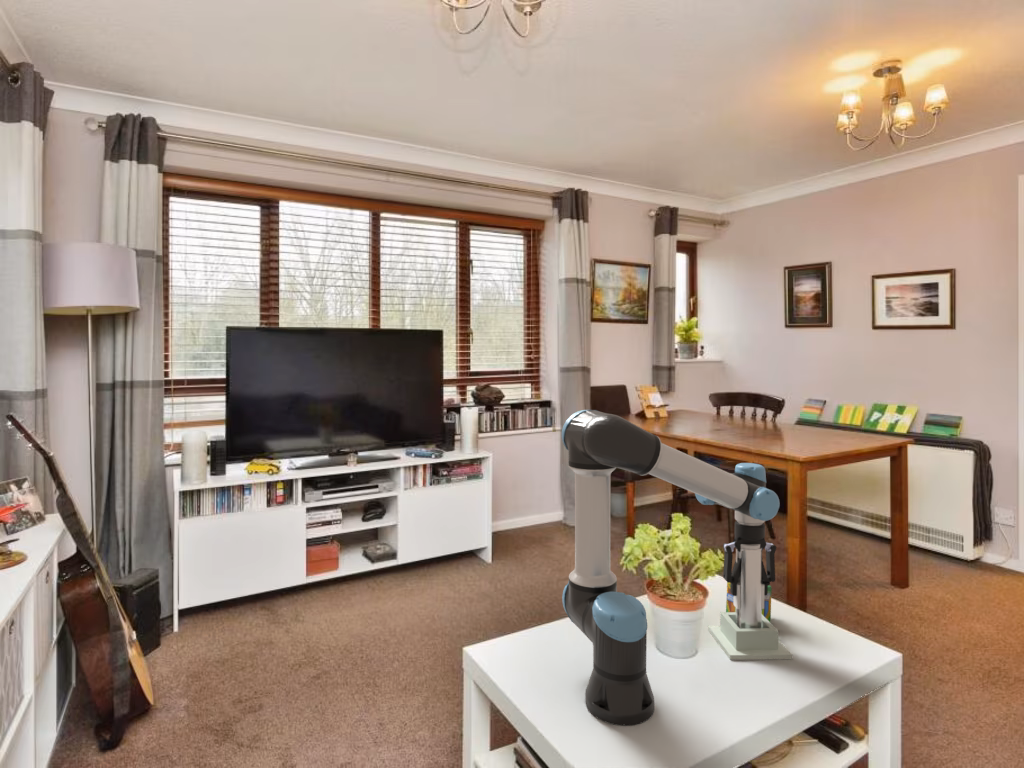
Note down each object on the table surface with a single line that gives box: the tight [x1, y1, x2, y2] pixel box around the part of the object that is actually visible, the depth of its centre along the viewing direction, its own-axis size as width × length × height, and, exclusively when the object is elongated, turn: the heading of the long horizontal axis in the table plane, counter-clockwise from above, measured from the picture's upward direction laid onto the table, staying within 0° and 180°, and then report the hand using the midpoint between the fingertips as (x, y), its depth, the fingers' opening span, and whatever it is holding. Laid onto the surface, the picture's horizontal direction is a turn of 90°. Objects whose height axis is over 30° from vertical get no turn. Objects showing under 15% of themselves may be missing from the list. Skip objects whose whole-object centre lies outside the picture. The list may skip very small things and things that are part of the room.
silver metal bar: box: [735, 544, 763, 629], centre depth 155 cm, size 6×6×25 cm
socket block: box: [707, 611, 793, 661], centre depth 155 cm, size 16×16×6 cm
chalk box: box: [725, 581, 773, 624], centre depth 169 cm, size 9×9×15 cm
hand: (748, 606), depth 155 cm, fingers closed on silver metal bar, 6 cm apart
